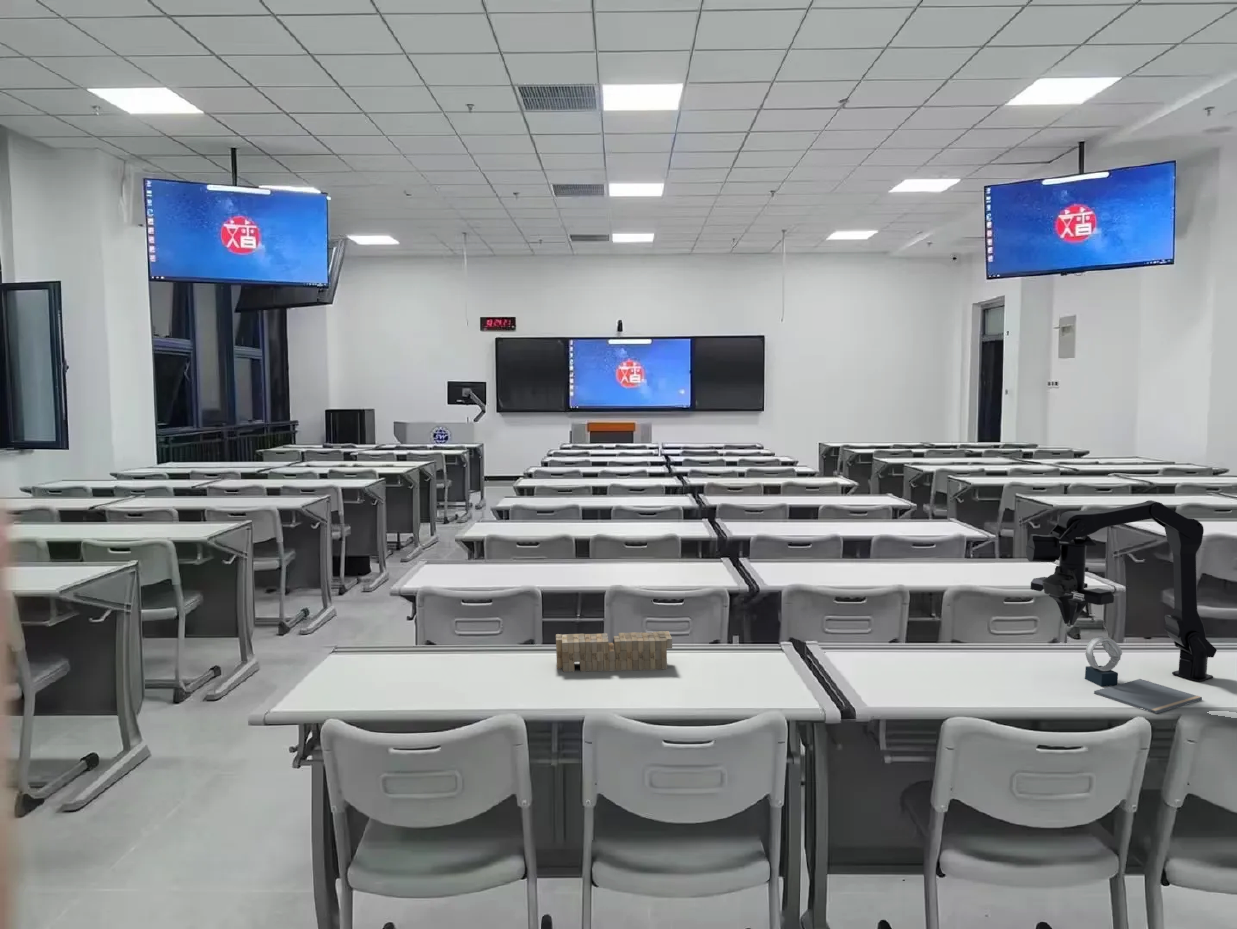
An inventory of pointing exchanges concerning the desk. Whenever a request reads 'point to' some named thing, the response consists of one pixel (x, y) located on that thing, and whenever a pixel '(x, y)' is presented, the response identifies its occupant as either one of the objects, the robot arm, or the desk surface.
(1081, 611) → the robot arm
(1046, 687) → the desk surface
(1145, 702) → the mat
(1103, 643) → the watch
